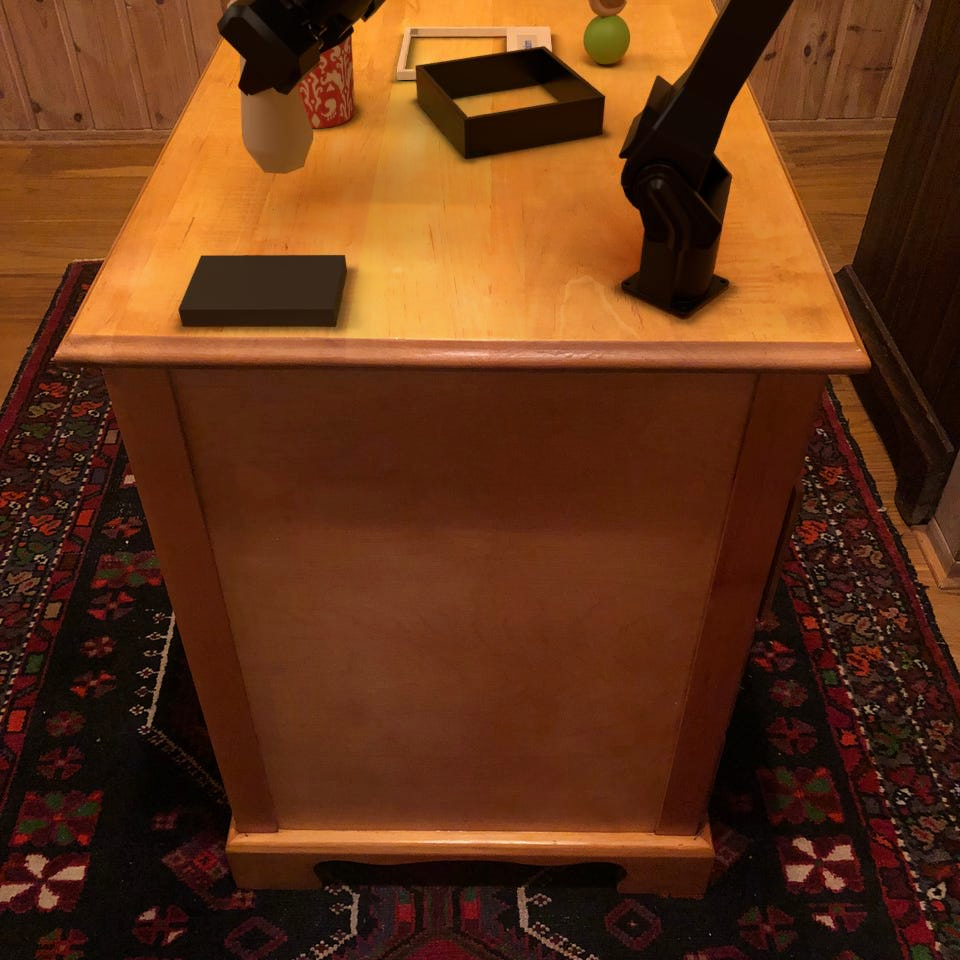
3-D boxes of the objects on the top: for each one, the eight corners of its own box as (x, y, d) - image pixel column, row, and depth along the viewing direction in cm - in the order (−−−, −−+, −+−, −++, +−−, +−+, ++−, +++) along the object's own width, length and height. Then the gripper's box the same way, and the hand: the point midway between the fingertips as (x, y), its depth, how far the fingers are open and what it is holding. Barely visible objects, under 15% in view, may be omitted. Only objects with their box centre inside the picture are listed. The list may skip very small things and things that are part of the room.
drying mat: (336, 326, 74) (333, 308, 73) (182, 326, 74) (177, 309, 73) (347, 271, 80) (345, 254, 79) (204, 271, 80) (200, 255, 79)
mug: (358, 133, 99) (344, -6, 90) (272, 132, 99) (249, -6, 90) (373, 86, 108) (361, -45, 99) (294, 85, 109) (275, -45, 99)
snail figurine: (566, 62, 113) (571, -50, 104) (608, 51, 115) (617, -59, 107) (594, 77, 110) (602, -38, 101) (637, 65, 112) (648, -48, 104)
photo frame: (554, 69, 108) (396, 69, 108) (553, 79, 109) (396, 79, 109) (549, 24, 118) (405, 25, 119) (549, 34, 119) (406, 34, 120)
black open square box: (602, 134, 98) (605, 96, 96) (465, 159, 94) (464, 120, 92) (543, 81, 109) (544, 45, 106) (417, 102, 105) (415, 65, 102)
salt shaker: (330, 163, 79) (308, -4, 70) (272, 186, 76) (241, 14, 67) (292, 142, 82) (265, -21, 73) (234, 162, 80) (199, -4, 71)
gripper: (334, -193, 69) (227, -36, 79) (214, -137, 56) (104, 43, 66) (442, -66, 73) (327, 69, 83) (353, 14, 60) (230, 162, 70)
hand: (253, 82), depth 75 cm, fingers closed on salt shaker, 3 cm apart
